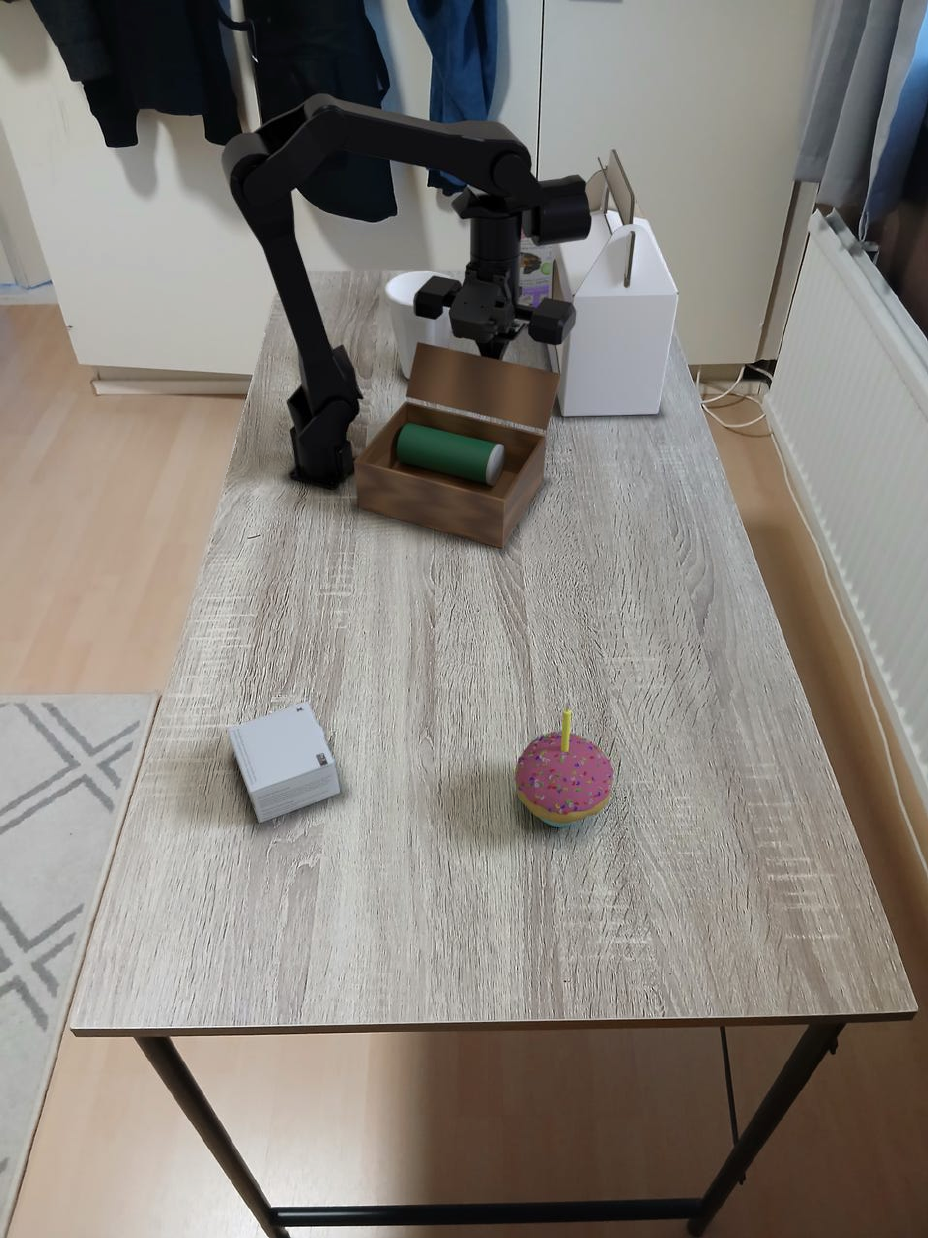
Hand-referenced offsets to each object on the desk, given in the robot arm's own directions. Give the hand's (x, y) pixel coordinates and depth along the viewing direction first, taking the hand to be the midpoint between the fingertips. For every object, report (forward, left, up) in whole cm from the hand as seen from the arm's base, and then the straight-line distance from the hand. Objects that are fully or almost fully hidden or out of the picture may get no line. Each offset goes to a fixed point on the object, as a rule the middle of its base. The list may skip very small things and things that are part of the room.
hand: (492, 373), depth 115 cm
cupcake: (+27, -50, -10) cm, 57 cm away
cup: (-15, +11, -10) cm, 21 cm away
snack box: (0, -13, -10) cm, 16 cm away
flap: (0, -4, +1) cm, 4 cm away
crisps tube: (-8, -9, -7) cm, 14 cm away
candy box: (-8, +32, -10) cm, 35 cm away
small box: (+3, -57, -10) cm, 58 cm away
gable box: (+8, +21, -10) cm, 25 cm away
